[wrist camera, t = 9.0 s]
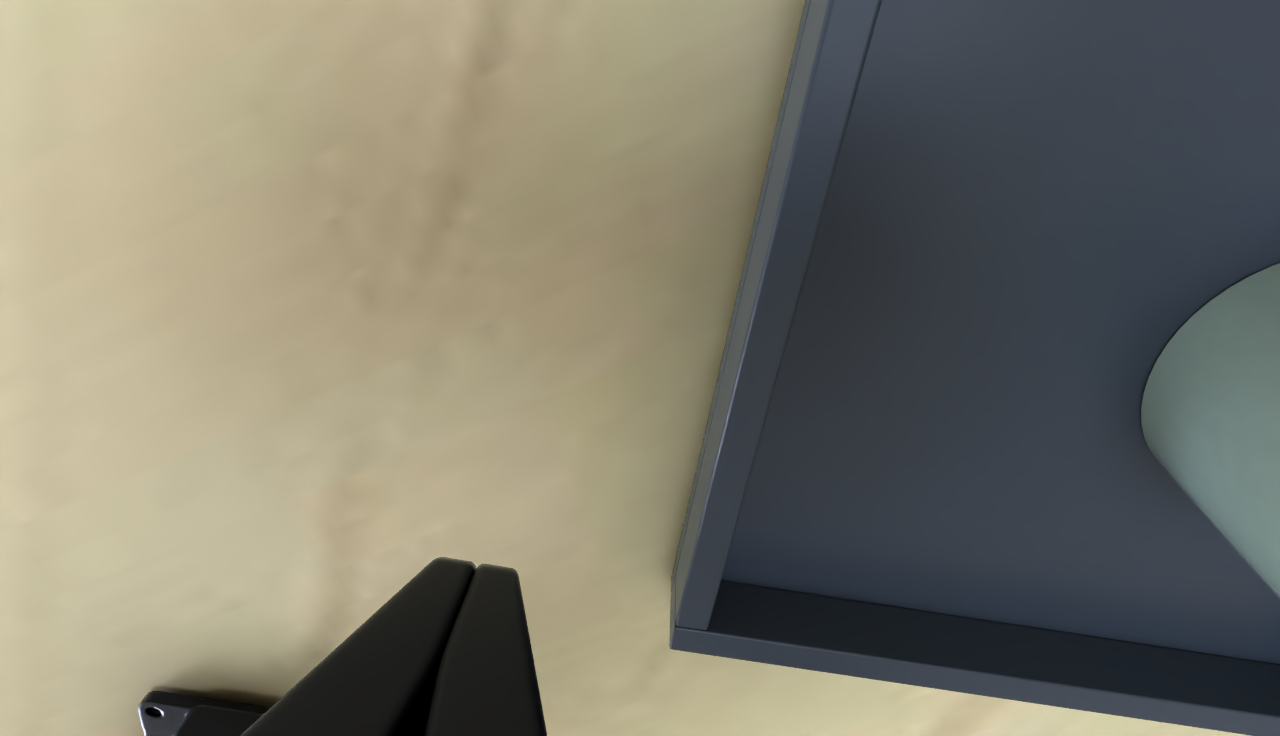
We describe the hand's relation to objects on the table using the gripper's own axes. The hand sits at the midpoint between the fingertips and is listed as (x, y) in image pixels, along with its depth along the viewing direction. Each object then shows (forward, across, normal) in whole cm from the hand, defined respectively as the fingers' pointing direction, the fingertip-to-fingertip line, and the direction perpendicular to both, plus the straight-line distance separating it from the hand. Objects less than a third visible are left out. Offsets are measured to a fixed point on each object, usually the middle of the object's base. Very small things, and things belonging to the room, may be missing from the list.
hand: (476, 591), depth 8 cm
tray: (+10, -12, 0) cm, 16 cm away
